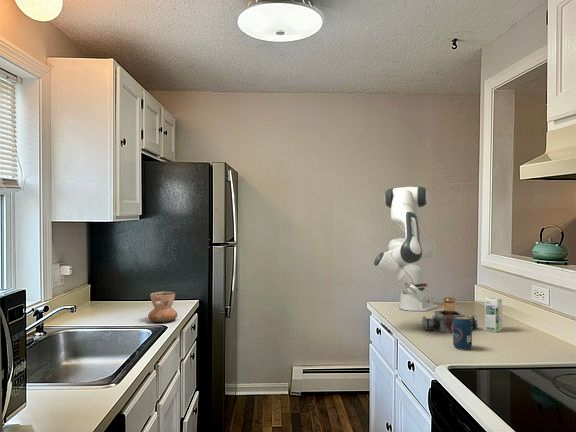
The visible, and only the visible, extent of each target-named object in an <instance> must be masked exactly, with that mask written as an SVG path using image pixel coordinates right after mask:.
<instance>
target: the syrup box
mask: <svg viewBox="0 0 576 432" xmlns="http://www.w3.org/2000/svg"><path fill="white" fill-rule="evenodd" d="M484 318H485V319H484V330H485V331H488V332H492V333H499V332H501V331H502V330H503V299H502V298H499V297H491V296H488V297H486V298H484Z"/></svg>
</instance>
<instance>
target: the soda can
mask: <svg viewBox="0 0 576 432" xmlns="http://www.w3.org/2000/svg"><path fill="white" fill-rule="evenodd" d="M470 318H471V317H469V316H466V315H465V316H455V317H454V320H453V333H452V344H453V346H454V348H455V349H456V350H461V351H462V350H463V351H469V350H471V349H472V346H473V333H472V332H473V328H472V322H471V320H470Z"/></svg>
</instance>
